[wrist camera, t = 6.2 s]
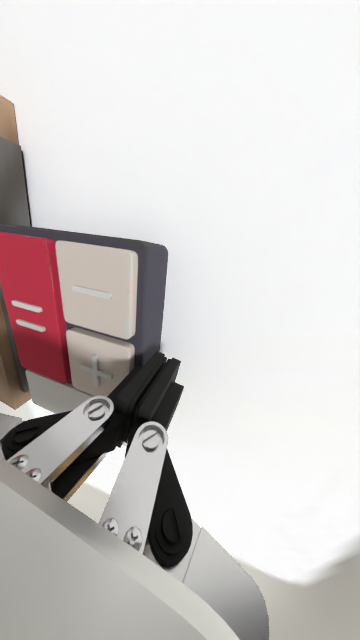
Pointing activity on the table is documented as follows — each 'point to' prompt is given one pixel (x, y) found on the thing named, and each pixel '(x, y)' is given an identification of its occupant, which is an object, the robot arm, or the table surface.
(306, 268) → the table surface
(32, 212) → the table surface
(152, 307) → the calculator
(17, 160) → the bar
